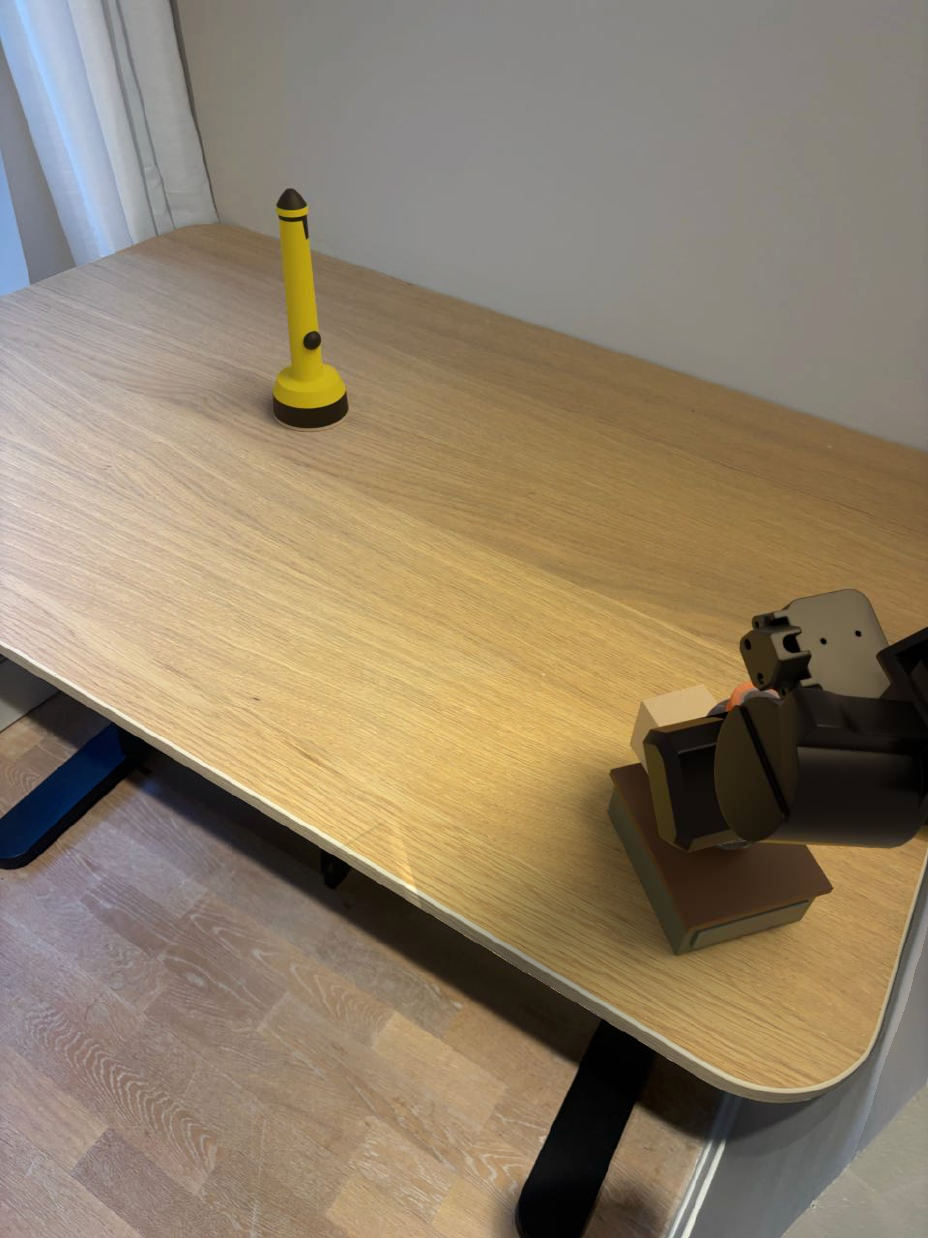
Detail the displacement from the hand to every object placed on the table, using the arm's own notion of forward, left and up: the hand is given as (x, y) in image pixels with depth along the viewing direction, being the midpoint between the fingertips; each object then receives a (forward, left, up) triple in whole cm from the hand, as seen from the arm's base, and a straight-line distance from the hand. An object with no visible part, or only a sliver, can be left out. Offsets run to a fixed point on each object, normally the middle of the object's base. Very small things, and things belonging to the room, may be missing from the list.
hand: (735, 736), depth 55 cm
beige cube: (+2, -3, -8) cm, 9 cm away
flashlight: (+46, -49, -13) cm, 68 cm away
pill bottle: (-1, +1, -7) cm, 7 cm away
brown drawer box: (-1, +1, -13) cm, 13 cm away
